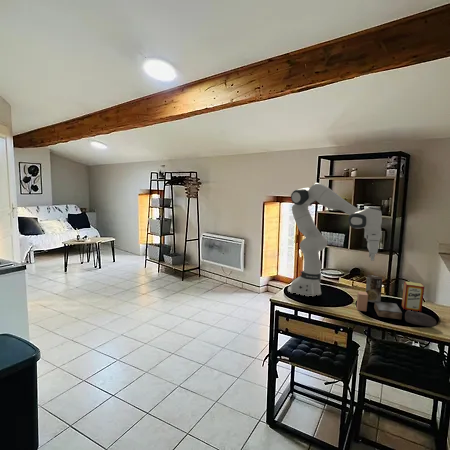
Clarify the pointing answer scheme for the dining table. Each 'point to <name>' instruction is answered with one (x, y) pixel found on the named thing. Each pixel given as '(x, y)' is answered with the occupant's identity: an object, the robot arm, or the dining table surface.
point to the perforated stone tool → (419, 318)
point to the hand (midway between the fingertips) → (371, 258)
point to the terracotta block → (362, 301)
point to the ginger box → (413, 296)
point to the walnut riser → (387, 310)
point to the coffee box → (374, 288)
